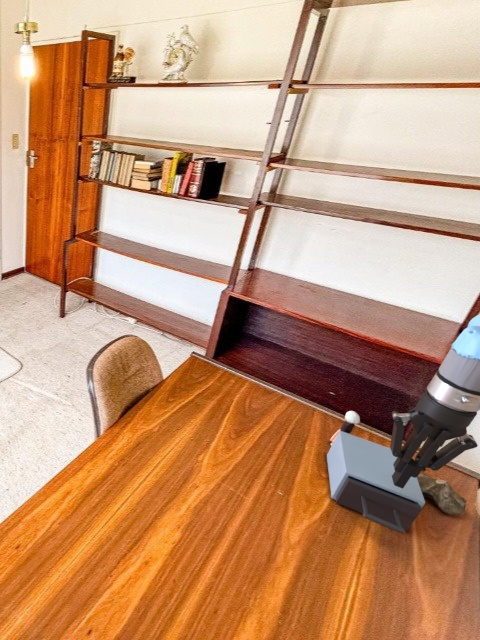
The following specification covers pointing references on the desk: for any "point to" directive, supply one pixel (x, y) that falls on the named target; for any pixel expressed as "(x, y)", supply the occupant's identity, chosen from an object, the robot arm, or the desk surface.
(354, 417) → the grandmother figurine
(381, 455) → the cabinet
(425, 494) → the fossilized seashell
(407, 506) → the drawer
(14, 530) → the desk surface
